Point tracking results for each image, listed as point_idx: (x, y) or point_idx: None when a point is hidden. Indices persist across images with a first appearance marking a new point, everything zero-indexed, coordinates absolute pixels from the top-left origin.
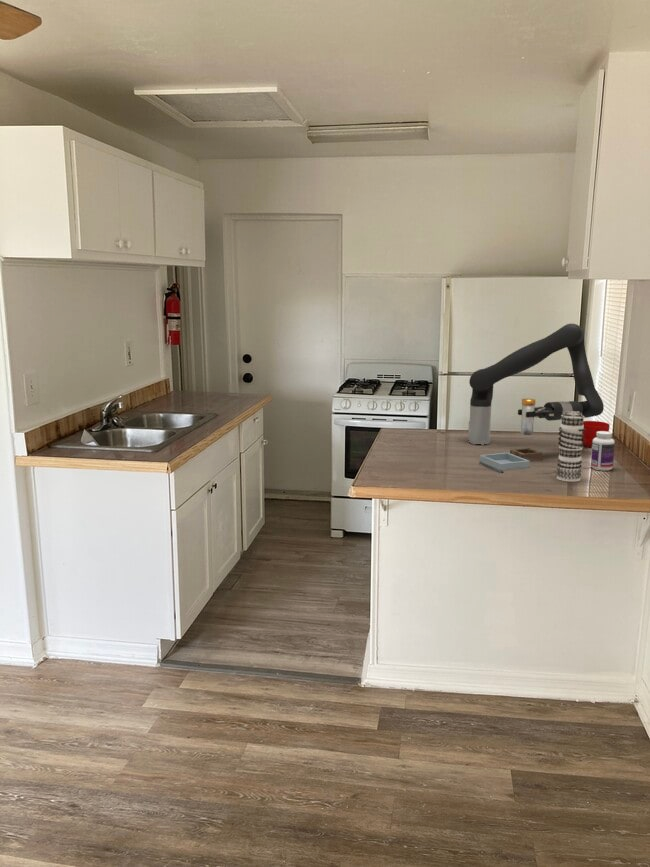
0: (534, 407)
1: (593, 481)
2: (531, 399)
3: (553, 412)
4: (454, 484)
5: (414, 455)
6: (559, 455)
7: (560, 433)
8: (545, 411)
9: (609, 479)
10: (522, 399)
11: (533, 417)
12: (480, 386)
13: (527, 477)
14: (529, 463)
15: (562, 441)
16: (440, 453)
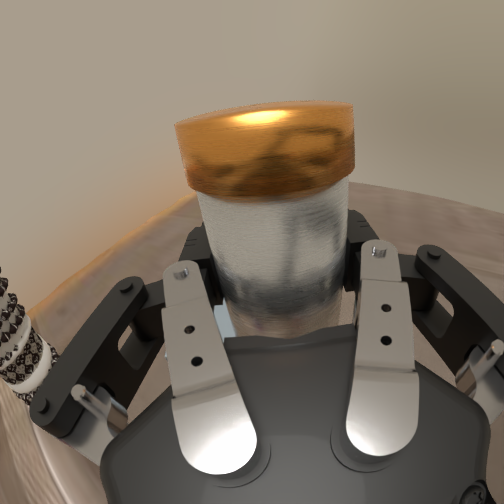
0: (216, 230)
1: (25, 422)
2: (252, 111)
3: (35, 409)
4: (180, 224)
5: (388, 216)
6: (40, 336)
7: (1, 278)
8: (153, 402)
9: (13, 463)
10: (288, 101)
11: (231, 316)
12: None
13: (128, 328)
14: (167, 360)
15: (8, 295)
16: (411, 248)
